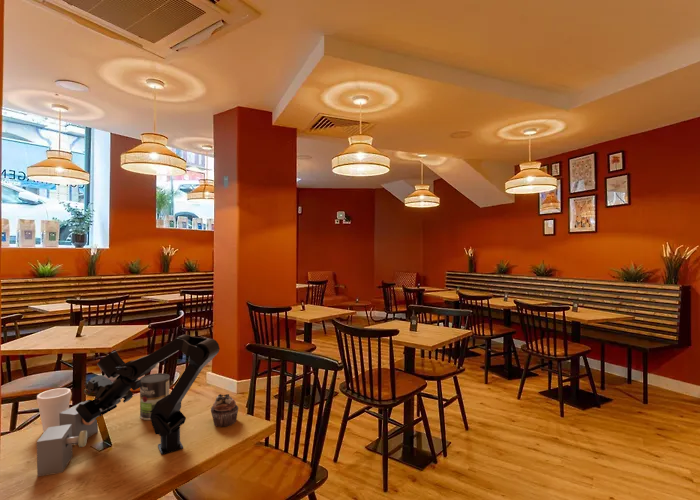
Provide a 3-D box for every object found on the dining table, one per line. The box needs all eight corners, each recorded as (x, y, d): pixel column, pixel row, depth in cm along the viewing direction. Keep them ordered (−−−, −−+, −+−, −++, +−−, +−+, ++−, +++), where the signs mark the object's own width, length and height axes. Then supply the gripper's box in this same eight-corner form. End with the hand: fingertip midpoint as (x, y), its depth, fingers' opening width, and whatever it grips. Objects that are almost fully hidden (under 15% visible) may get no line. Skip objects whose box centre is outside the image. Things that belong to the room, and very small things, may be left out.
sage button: (87, 441, 123) (87, 427, 122) (83, 449, 118) (82, 434, 118) (63, 445, 121) (63, 430, 120) (58, 452, 116) (58, 437, 116)
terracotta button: (95, 421, 136) (95, 408, 136) (85, 427, 132) (84, 414, 131) (80, 419, 137) (80, 407, 137) (69, 425, 133) (68, 412, 133)
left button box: (72, 455, 123) (71, 424, 123) (62, 472, 115) (61, 438, 115) (49, 459, 121) (48, 427, 121) (37, 476, 113) (36, 441, 113)
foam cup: (44, 439, 133) (43, 400, 133) (32, 431, 138) (32, 394, 138) (76, 427, 141) (75, 391, 141) (64, 421, 146) (63, 386, 146)
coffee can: (156, 422, 146) (155, 384, 146) (133, 418, 149) (133, 380, 149) (176, 410, 156) (175, 374, 155) (154, 406, 159) (154, 371, 158)
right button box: (97, 431, 139) (97, 403, 138) (75, 445, 130) (75, 414, 129) (82, 430, 140) (82, 401, 139) (59, 443, 131) (59, 413, 130)
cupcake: (239, 425, 144) (239, 398, 143) (211, 430, 140) (211, 402, 140) (237, 414, 153) (237, 388, 152) (210, 418, 149) (210, 391, 149)
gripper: (124, 360, 141) (98, 389, 144) (80, 379, 123) (50, 411, 125) (145, 384, 140) (117, 412, 143) (103, 406, 122) (72, 438, 124)
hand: (91, 417), depth 134 cm, fingers closed, pressing on terracotta button
